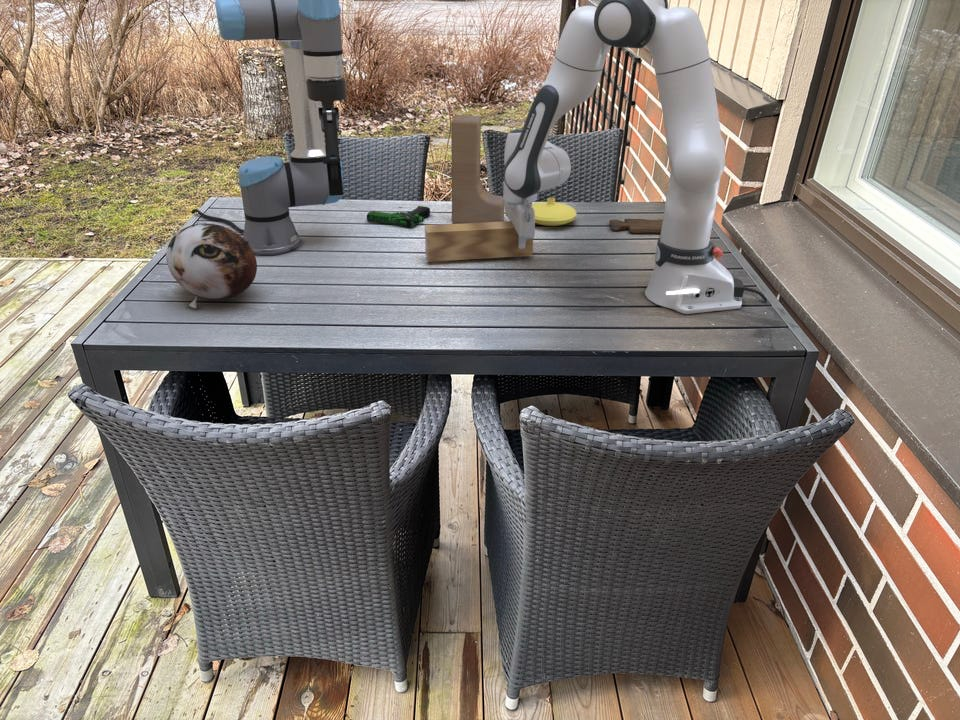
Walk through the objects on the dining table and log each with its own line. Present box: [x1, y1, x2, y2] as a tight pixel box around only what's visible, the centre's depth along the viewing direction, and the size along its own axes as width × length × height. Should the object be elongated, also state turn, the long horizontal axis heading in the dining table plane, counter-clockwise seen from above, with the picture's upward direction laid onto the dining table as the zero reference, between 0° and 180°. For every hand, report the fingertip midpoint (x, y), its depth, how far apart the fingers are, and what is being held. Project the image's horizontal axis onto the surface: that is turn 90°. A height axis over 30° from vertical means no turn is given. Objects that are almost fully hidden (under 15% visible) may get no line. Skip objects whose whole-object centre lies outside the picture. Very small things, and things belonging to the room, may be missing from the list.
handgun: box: [366, 205, 431, 229], centre depth 216 cm, size 16×3×15 cm
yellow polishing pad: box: [532, 197, 578, 227], centre depth 214 cm, size 16×16×7 cm
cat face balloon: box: [165, 222, 258, 309], centre depth 165 cm, size 22×18×20 cm
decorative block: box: [450, 114, 505, 224], centre depth 208 cm, size 8×15×30 cm, turn 82°
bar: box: [424, 220, 534, 262], centre depth 188 cm, size 28×5×8 cm, turn 100°
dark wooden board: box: [608, 218, 663, 234], centre depth 212 cm, size 26×2×10 cm
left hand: (335, 185), depth 150 cm, fingers open, 13 cm apart
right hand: (518, 242), depth 191 cm, fingers closed on bar, 5 cm apart
